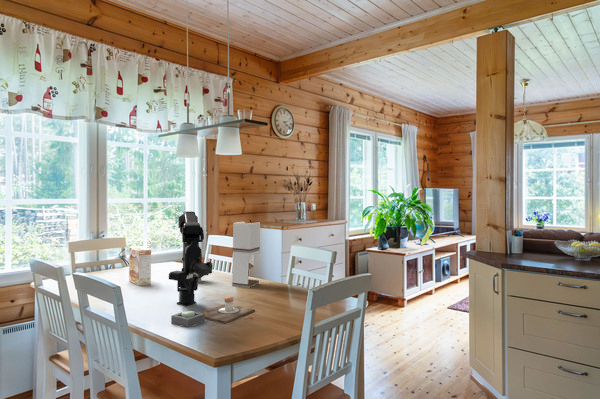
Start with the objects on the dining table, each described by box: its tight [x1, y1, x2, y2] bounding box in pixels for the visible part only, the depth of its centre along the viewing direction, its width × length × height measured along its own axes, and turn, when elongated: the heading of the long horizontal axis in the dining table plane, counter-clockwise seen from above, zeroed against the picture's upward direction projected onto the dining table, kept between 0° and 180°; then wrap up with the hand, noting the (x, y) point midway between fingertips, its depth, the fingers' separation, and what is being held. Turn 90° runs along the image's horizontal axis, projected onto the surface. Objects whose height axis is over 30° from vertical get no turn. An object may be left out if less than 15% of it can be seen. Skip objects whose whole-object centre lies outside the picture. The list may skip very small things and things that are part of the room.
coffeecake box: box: [128, 245, 152, 287], centre depth 227 cm, size 15×7×20 cm, turn 42°
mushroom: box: [224, 295, 235, 311], centre depth 175 cm, size 4×4×6 cm
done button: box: [182, 310, 196, 318], centre depth 161 cm, size 5×5×2 cm
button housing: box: [170, 309, 206, 328], centre depth 161 cm, size 9×9×3 cm
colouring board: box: [200, 303, 256, 324], centre depth 173 cm, size 16×20×1 cm
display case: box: [231, 221, 261, 289], centre depth 226 cm, size 11×11×35 cm
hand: (190, 293), depth 163 cm, fingers closed
